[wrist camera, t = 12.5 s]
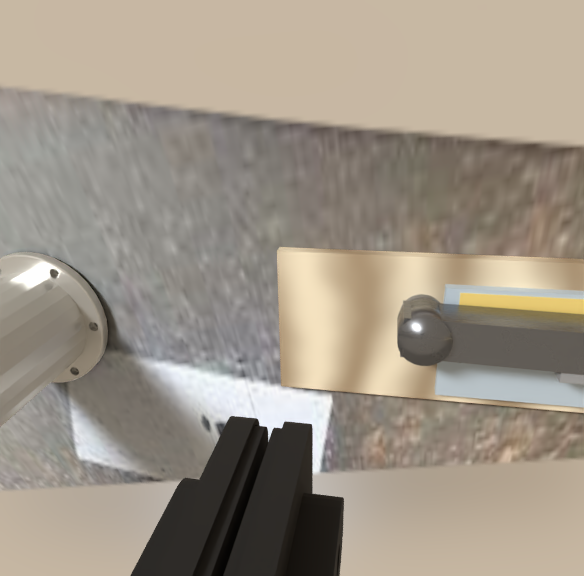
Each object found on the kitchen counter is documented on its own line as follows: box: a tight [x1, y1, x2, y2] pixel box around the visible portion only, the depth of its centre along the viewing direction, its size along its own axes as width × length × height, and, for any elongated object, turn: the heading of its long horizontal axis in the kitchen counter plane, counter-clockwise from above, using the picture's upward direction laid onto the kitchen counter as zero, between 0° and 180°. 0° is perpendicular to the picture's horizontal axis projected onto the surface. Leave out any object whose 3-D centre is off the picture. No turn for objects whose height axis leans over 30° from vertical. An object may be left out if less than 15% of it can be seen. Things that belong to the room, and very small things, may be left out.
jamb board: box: [277, 247, 584, 413], centre depth 39 cm, size 25×12×1 cm, turn 91°
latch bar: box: [397, 298, 584, 375], centre depth 34 cm, size 14×4×4 cm, turn 90°
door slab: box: [435, 284, 584, 408], centre depth 36 cm, size 12×9×4 cm
